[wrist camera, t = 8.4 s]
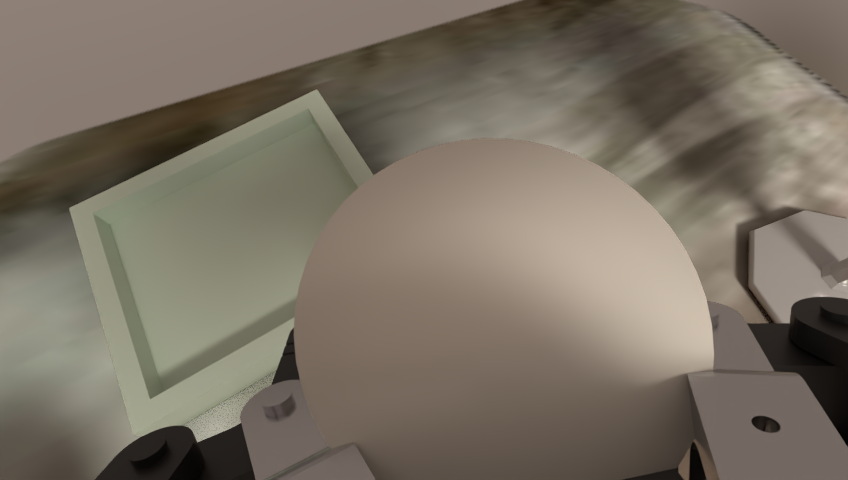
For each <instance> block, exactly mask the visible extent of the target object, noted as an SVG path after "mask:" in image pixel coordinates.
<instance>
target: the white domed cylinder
mask: <svg viewBox="0 0 848 480" xmlns="http://www.w3.org/2000/svg"><path fill="white" fill-rule="evenodd" d="M294 345H295V356H296V364H297V369H298V373H299V378H300V382H301V387H302V390H303V393H304V396H305V398H306V401H307V404H308V406H309V409H310V412H311V414H312V417H313V419H314V420H315V422H316V424H317V426H318V428H319V430H320V432H321V434H322V435H323V437H324V439H325V441H326V443H327V444H328V445H329V447H330V448H331V449H332V448H335V447H338V446H341V445H344V444H347V443H351V442H354V444H355V445H356V447H357V449H358V451H359V452H360V454H361V456H362V457H363V459H364V461H365V463H366V464H367V466H368V468H369V469H370V471H371V473H372V475H373V476H374V478H375V480H623V479H627V478H632V477H637V476H641V475H646V474H651V473H655V472H660V471H665V470H669V469H674V468H675V469H676V468H677V467H678V466H679V464H680V463H681V461H682V459H683V458H684V456H685V454H686V453H687V451H688V449H689V447H690V446H691V444H692V442H693V441H694V439H695V436H694V428H693V420H692V412H691V404H690V396H689V388H688V380H687V373H691V372H700V371H713V362H714V346H713V332H712V323H711V318H710V314H709V309H708V304H707V299H706V296H705V294H704V291H703V288H702V285H701V282H700V279H699V277H698V274H697V272H696V270H695V268H694V266H693V264H692V262H691V260H690V258H689V256H688V254H687V252H686V250H685V248H684V247H683V245H682V244H681V242H680V241H679V239H678V238H677V236H676V235H675V233H674V232H673V230H672V229H671V227H670V226H669V225H668V224H667V223H666V221H665V220H664V219H663V218H662V217H661V216H660V214H659V213H658V212H657V211H656V210H655V208H653V207H652V206H651V205H650V204H649V203H648V202H647V201H646V200H645V199H644V198H643V197H642V196H641V195H640V194H639V193H638V192H637V191H635V190H634V189H633V188H631V187H630V186H629V185H627V184H626V183H625V182H623V181H622V180H621V179H619V178H618V177H617V176H615V175H613V174H612V173H610V172H608V171H607V170H605V169H603V168H602V167H600V166H598V165H597V164H595V163H592V162H590V161H588V160H586V159H584V158H582V157H579V156H577V155H575V154H572V153H570V152H567V151H564V150H561V149H558V148H555V147H552V146H547V145H543V144H539V143H534V142H530V141H522V140H513V139H494V138H482V139H471V140H461V141H456V142H451V143H446V144H441V145H437V146H434V147H431V148H428V149H425V150H422V151H419V152H416V153H414V154H412V155H409V156H407V157H405V158H403V159H400V160H398V161H396V162H395V163H393V164H391V165H390V166H388V167H386V168H384V169H383V170H381V171H379V172H378V173H376V174H375V175H374V176H373V177H371V178H370V179H369V180H367V181H366V182H365V183H363V184H362V185H361V186H360V187H358V188H357V189H356V190H355V191H354V192H353V193H352V194H351V195H350V196H349V197H348V198H347V199H346V200H345V201H344V202H343V203H342V204H341V206H340V207H339V208H338V209H337V211H336V212H335V213H334V214H333V216H332V217H331V218H330V219H329V221H328V222H327V224H326V226H325V227H324V229H323V230H322V232H321V233H320V235H319V237H318V238H317V240H316V242H315V244H314V247H313V249H312V251H311V253H310V255H309V257H308V259H307V262H306V265H305V268H304V271H303V274H302V278H301V281H300V284H299V289H298V295H297V300H296V306H295V317H294Z"/></svg>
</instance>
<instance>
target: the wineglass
mask: <svg viewBox="0 0 848 480" xmlns="http://www.w3.org/2000/svg"><path fill="white" fill-rule="evenodd" d="M748 288H749V289H750V290H751V292H752V293H753V294H754V296H755V297H756V299H757V300H758V301H759V303H760V304H761V305H762V307H763V308H764V310H765V311H766V312H767V314H768V315H769V316H770V318H771V319H772V320H773V322H774V323H790V315H791V307H792V305H793V304H794V303H795V302H797V301H799V300H802V299H805V298H811V297H837V298H845V299H848V219H845V218H840V217H835V216H830V215H826V214H821V213H816V212H811V211H806V210H804V211H801V212H798V213H796V214H793V215H791V216H788V217H786V218H783V219H781V220H778V221H776V222H773V223H770V224H768V225H765V226H763V227H760V228H758V229H755V230H753V231H750V233H749V249H748Z"/></svg>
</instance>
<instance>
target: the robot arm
mask: <svg viewBox="0 0 848 480" xmlns="http://www.w3.org/2000/svg"><path fill="white" fill-rule="evenodd" d="M707 304H708V309H709V314H710V318H711V323H712V332H713V346H714V362H713V371H700V372H691V373H687V380H688V388H689V396H690V404H691V412H692V420H693V428H694V436H695V439H694V441H693V442H692V444H691V446H690V447H689V449H688V451H687V453H686V454H685V456H684V458H683V459H682V461H681V463H680V464H679V466H678V467H677V468H676V469H675V468H674V469H669V470H665V471H660V472H655V473H651V474H646V475H641V476H637V477H632V478H627V479H623V480H848V299H845V298H837V297H811V298H805V299H802V300H799V301H797V302H795V303H794V304H793V305H792V307H791V315H790V323H766V324H747V323H746V321H745V319H744V318H743V316H742V315H741V314H740V313H738V312H737V311H736V310H734V309H732V308H730V307H728V306H725V305H722V304H719V303H715V302H710V301H707ZM282 355H283V356H282V357H281V359H280V362H279V365H278V368H277V371H276V374H275V377H274V379H273V382H272V385H271V386H269V387H267V388H265V389H263V390H262V391H260V392H258V393H257V394H256V395H254V396H253V397H252V398H251V399H250V400H249V401H248V402H247V403H246V405H245V406H244V408H243V410H242V412H241V416H240V418H241V423H240V424H239V425H237V426H235V427H233V428H231V429H229V430H227V431H224V432H222V433H219V434H217V435H215V436H212V437H210V438H207V439H205V440H203V441H200V442H198V443H197V441H196V439H195V436H194V434H193V432H192V430H191V429H189V428H188V427H185V426H169V427H164V428H161V429H158V430H155V431H153V432H150V433H148V434H146V435H144V436H142V437H140V438H139V439H137V440H135V441H134V442H132V443H131V444H130V445H128V446H127V447H125V448H124V449H123V450H122V451H121V452H120V453H119V454H118V455H117V456H116V457H115V458H114V459H113V460H112V461H111V462H110V463H109V464H108V466H107V467H106V468H105V469H104V470H103V471H102V472H101V473H100V475H99V476H98V477H97V478H96V479H95V480H375V478H374V476H373V475H372V473H371V471H370V469H369V468H368V466H367V464H366V463H365V461H364V459H363V457H362V456H361V454H360V452H359V451H358V449H357V447H356V445H355V444H354V442H351V443H347V444H344V445H341V446H338V447H335V448H332V449H331V448H330V447H329V445H328V444H327V443H326V441H325V439H324V437H323V435H322V434H321V432H320V430H319V428H318V426H317V424H316V422H315V420H314V419H313V417H312V414H311V412H310V409H309V406H308V404H307V401H306V398H305V396H304V393H303V390H302V387H301V382H300V378H299V373H298V369H297V364H296V356H295V345H294V328H293V329H292V330H291V331H290V333H289V336H288V339H287V342H286V346H285V348H284V351H283V354H282Z"/></svg>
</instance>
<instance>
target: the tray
mask: <svg viewBox="0 0 848 480" xmlns="http://www.w3.org/2000/svg"><path fill="white" fill-rule="evenodd" d="M373 176H374V175H373V174H372V172H371V170H370V169H369V167H368V166H367V164H366V163H365V161H364V160H363V158H362V157H361V155H360V154H359V152H358V151H357V149H356V148H355V146H354V145H353V143H352V142H351V140H350V139H349V137H348V136H347V134H346V133H345V131H344V130H343V128H342V127H341V125H340V124H339V122H338V120H337V119H336V117H335V116H334V114H333V113H332V111H331V110H330V108H329V107H328V105H327V104H326V102H325V101H324V99H323V98H322V96H321V95H320V93H319V92H318V90H317V89H316V90H314V91H312V92H310V93H308V94H306V95H304V96H302V97H300V98H298V99H295V100H293V101H291V102H289V103H287V104H285V105H283V106H281V107H279V108H277V109H275V110H273V111H270V112H268V113H266V114H264V115H262V116H260V117H258V118H256V119H254V120H252V121H250V122H248V123H245V124H243V125H241V126H239V127H237V128H235V129H233V130H231V131H229V132H227V133H225V134H223V135H220V136H218V137H216V138H214V139H212V140H210V141H208V142H206V143H204V144H202V145H200V146H198V147H195V148H193V149H191V150H189V151H187V152H185V153H183V154H181V155H179V156H177V157H175V158H173V159H170V160H168V161H166V162H164V163H162V164H160V165H158V166H156V167H154V168H152V169H150V170H148V171H145V172H143V173H141V174H139V175H137V176H135V177H133V178H131V179H129V180H127V181H125V182H123V183H120V184H118V185H116V186H114V187H112V188H110V189H108V190H106V191H104V192H102V193H100V194H98V195H95V196H93V197H91V198H89V199H87V200H85V201H83V202H81V203H79V204H77V205H75V206H73V207H70V208H69V210H70V213H71V217H72V220H73V224H74V227H75V231H76V234H77V238H78V241H79V245H80V248H81V252H82V256H83V259H84V263H85V266H86V270H87V273H88V277H89V280H90V284H91V287H92V291H93V294H94V298H95V301H96V305H97V309H98V312H99V316H100V319H101V323H102V326H103V330H104V333H105V337H106V340H107V344H108V347H109V351H110V354H111V358H112V362H113V365H114V369H115V372H116V376H117V379H118V383H119V386H120V390H121V393H122V397H123V400H124V404H125V408H126V411H127V415H128V418H129V422H130V425H131V429H132V432H133V435H141V436H144V435H146V434H148V433H150V432H153V431H155V430H158V429H161V428H164V427H169V426H182V425H184V424H186V423H187V422H189V421H191V420H192V419H194V418H196V417H198V416H199V415H201V414H203V413H204V412H206V411H208V410H210V409H211V408H213V407H215V406H216V405H218V404H220V403H221V402H223V401H225V400H227V399H228V398H230V397H232V396H233V395H235V394H237V393H239V392H240V391H242V390H244V389H245V388H247V387H249V386H251V385H252V384H254V383H256V382H257V381H259V380H261V379H262V378H264V377H266V376H268V375H269V374H271V373H273V372H274V371H276V370H277V368H278V365H279V362H280V359H281V357H282V356H283V355H282V354H283V351H284V348H285V346H286V342H287V339H288V336H289V333H290V331H291V330H292V329H293V328H294V317H295V306H296V300H297V295H298V289H299V284H300V281H301V278H302V274H303V271H304V268H305V265H306V262H307V259H308V257H309V255H310V253H311V251H312V249H313V247H314V244H315V242H316V240H317V238H318V237H319V235H320V233H321V232H322V230H323V229H324V227H325V226H326V224H327V222H328V221H329V219H330V218H331V217H332V216H333V214H334V213H335V212H336V211H337V209H338V208H339V207H340V206H341V204H342V203H343V202H344V201H345V200H346V199H347V198H348V197H349V196H350V195H351V194H352V193H353V192H354V191H355V190H356V189H357V188H358V187H360V186H361V185H362V184H363V183H365V182H366V181H367V180H369V179H370V178H371V177H373Z"/></svg>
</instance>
